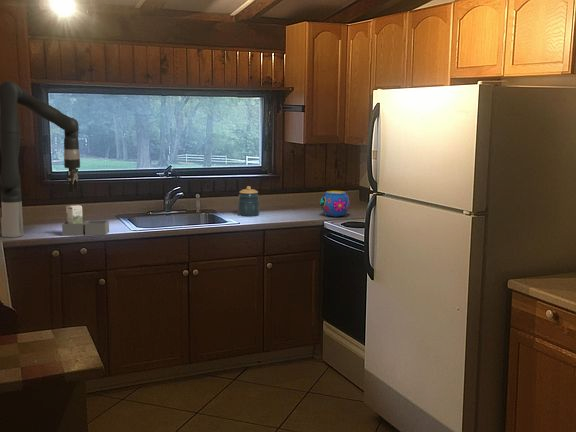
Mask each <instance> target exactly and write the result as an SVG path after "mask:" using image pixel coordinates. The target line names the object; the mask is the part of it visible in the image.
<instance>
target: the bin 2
mask: <svg viewBox="0 0 576 432" xmlns="http://www.w3.org/2000/svg"><path fill="white" fill-rule="evenodd" d="M109 232H110V221H109V220H108V219H107V220H87V222H86V223H85V234H84V236H86V237H88V236H93V237H94V236H98V237H99V236H107V235H108V234H109Z"/></svg>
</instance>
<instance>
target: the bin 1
mask: <svg viewBox="0 0 576 432" xmlns="http://www.w3.org/2000/svg"><path fill="white" fill-rule="evenodd" d="M86 222H88V220H83V223H82V224H67V220H66V221H64V222H63V223H62V224H61V231H62V236H63V237H65V236H66V237H68V236H69V237H70V236H71V237H73V236H75V237H78V236H85V223H86Z"/></svg>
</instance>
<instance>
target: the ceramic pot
mask: <svg viewBox="0 0 576 432" xmlns="http://www.w3.org/2000/svg"><path fill="white" fill-rule="evenodd" d="M319 204H320V206H321V210H322V212H323V213H324V214H325V215H327V216H329V217H332V218H333V217H334V218H337V217H342V216H345V215H346V214H347V213H348V211H349V210H350V206H351V201H350V197H349V195H348V193H347V192H346V191H342V190H327V191H326V192H324V194H323V195H322V197H321V198H320V201H319Z"/></svg>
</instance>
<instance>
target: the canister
mask: <svg viewBox="0 0 576 432" xmlns="http://www.w3.org/2000/svg"><path fill="white" fill-rule="evenodd" d="M251 188H252V187H251V186H250V185H247V186H246V188H245V189H244V188H243V189H241V190H240V191H239V194H238V196H237V197H238V201H237V203H238V204H237V205H238V206H237V208H238V209H237V210H238V211H237V214H238V216H240V217H257V216H259V214H260V200H259V197H260V194H258V193H259V191H258V190H256V189H251Z"/></svg>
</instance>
